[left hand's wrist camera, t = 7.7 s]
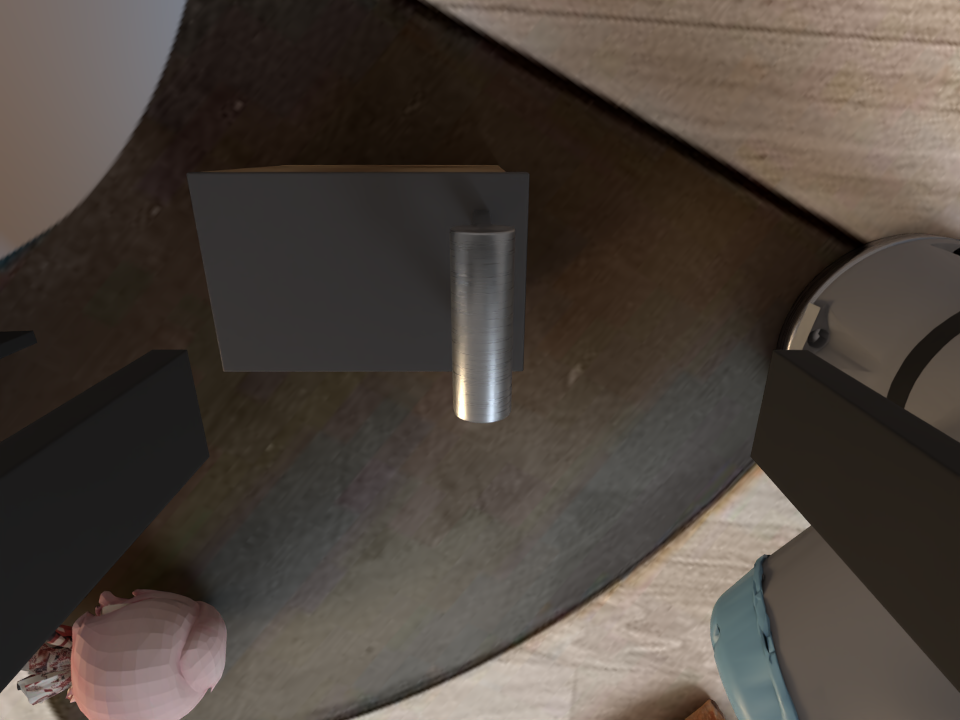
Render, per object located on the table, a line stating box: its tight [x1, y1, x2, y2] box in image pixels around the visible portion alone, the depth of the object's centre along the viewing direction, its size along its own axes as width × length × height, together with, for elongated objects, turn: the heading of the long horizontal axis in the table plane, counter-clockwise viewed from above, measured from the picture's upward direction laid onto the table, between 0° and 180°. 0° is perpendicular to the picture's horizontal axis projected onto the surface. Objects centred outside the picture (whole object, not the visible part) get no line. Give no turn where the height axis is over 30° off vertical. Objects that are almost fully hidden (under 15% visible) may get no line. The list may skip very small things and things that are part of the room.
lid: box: [187, 172, 529, 423], centre depth 21 cm, size 14×9×9 cm, turn 90°
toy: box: [17, 589, 227, 720], centre depth 43 cm, size 12×11×15 cm
